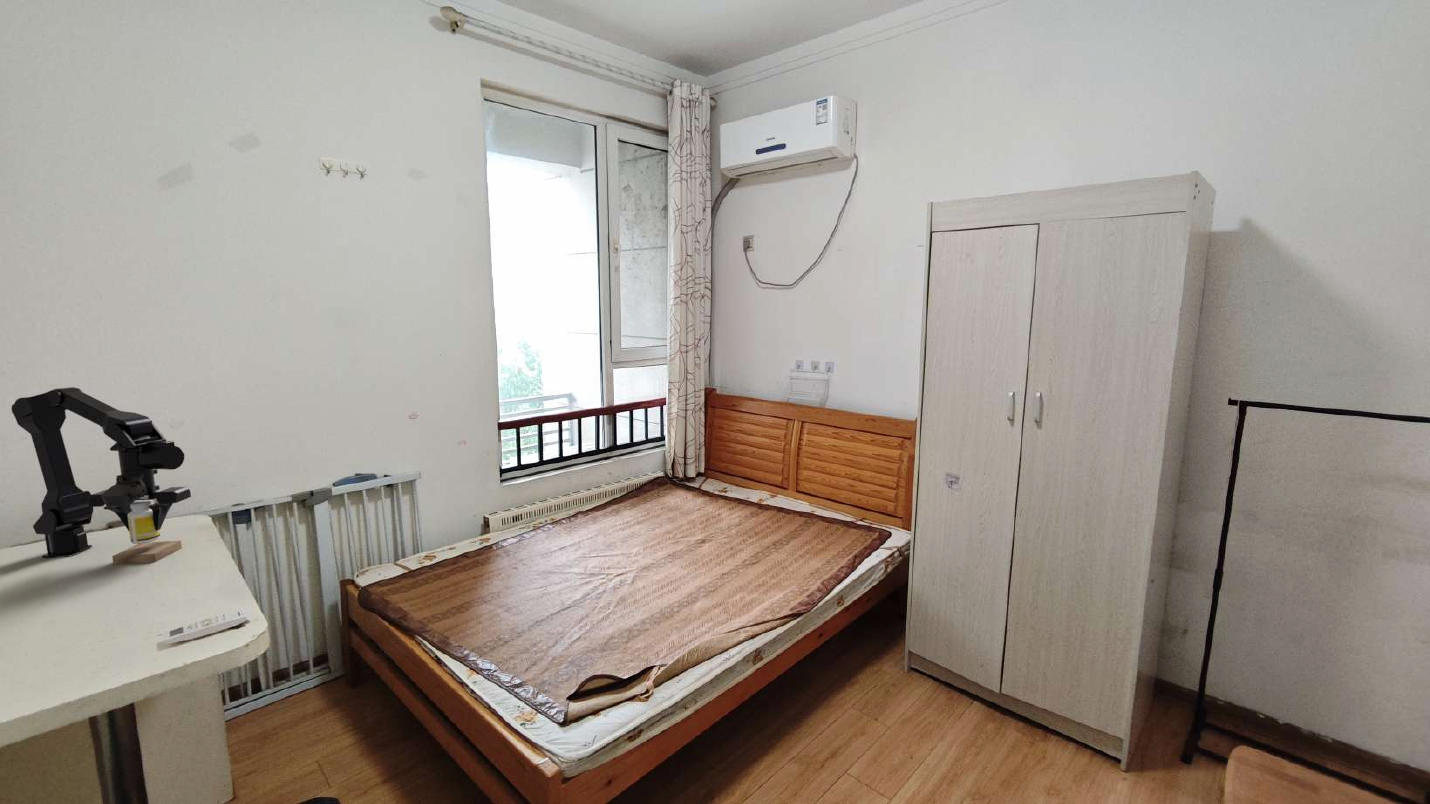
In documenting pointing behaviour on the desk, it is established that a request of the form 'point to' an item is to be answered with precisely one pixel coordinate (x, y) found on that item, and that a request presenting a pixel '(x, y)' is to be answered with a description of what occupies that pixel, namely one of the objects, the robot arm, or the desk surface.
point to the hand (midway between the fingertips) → (144, 530)
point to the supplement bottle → (142, 523)
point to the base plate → (147, 552)
